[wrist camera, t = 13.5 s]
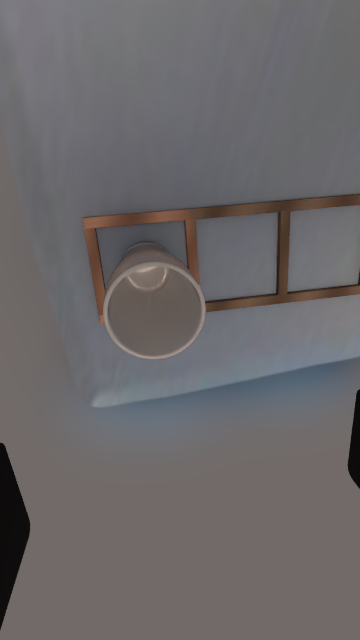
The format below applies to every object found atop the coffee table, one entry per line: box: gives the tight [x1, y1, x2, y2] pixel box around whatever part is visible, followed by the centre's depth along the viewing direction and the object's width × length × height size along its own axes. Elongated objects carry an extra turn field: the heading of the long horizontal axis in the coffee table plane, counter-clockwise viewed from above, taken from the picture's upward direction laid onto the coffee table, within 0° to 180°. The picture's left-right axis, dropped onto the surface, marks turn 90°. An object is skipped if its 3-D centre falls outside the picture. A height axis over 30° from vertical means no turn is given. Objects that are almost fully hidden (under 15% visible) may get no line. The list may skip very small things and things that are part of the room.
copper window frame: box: [83, 194, 360, 324], centre depth 36 cm, size 31×11×1 cm, turn 94°
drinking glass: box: [103, 242, 206, 359], centre depth 28 cm, size 7×7×15 cm
